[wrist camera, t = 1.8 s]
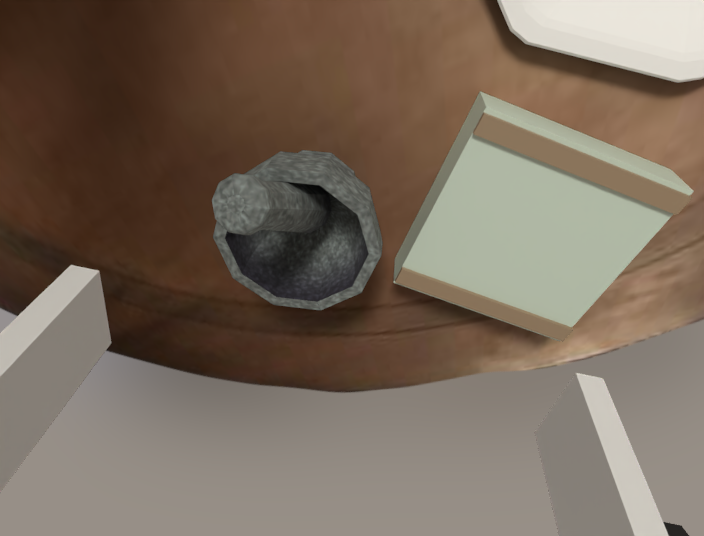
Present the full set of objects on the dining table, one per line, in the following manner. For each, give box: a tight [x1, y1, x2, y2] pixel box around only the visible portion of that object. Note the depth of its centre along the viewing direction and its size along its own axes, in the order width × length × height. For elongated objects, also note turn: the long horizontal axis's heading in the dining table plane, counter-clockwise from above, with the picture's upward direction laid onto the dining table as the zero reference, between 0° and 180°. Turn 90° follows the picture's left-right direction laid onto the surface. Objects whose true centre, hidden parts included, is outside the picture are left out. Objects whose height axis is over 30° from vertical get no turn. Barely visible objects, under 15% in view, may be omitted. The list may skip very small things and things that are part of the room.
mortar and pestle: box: [212, 150, 382, 310], centre depth 28 cm, size 11×9×12 cm
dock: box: [394, 91, 694, 341], centre depth 31 cm, size 13×13×3 cm
